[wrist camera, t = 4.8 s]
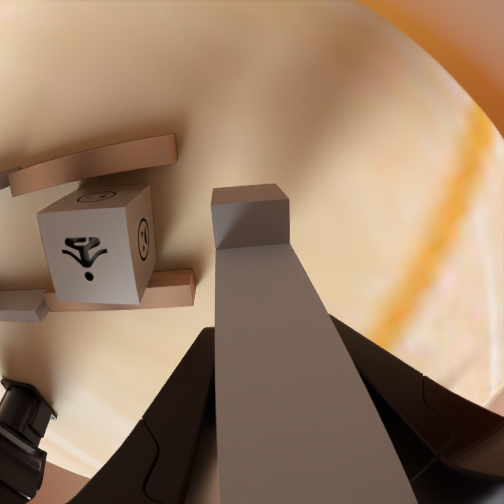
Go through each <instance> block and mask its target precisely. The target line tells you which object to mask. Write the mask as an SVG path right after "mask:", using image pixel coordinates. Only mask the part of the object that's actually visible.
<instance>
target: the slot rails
mask: <svg viewBox="0 0 504 504" xmlns="http://www.w3.org/2000/svg"><path fill="white" fill-rule="evenodd" d="M177 159H178V158H177V148H176V138H175V134H171V135H164V136H157V137H151V138H145V139H139V140H134V141H129V142H123V143H118V144H113V145H109V146H104V147H100V148H95V149H91V150H87V151H83V152H79V153H75V154H71V155H68V156H64V157H60V158H57V159H53V160H50V161H47V162H43V163H40V164H37V165H34V166H31V167H28V168H25V169H22V170H19V171H16V172H14V173H11V174H8V177H9V183H10V188H11V193H12V197H15V196H18V195H22V194H25V193H29V192H33V191H36V190H40V189H44V188H48V187H52V186H56V185H60V184H64V183H68V182H73V181H77V180H82V179H86V178H91V177H96V176H101V175H106V174H112V173H117V172H123V171H128V170H134V169H141V168H147V167H154V166H161V165H168V164H172V163H174V162H175V161H176V160H177ZM195 290H196V287H195V281H194V276H193V270H192V269H184V270H173V271H161V272H152V274H151V277H150V279H149V282H148V284H147V287H146V289H145V292H144V295H143V297H142V300H141V302H140V305H137V304H106V303H84V302H67V301H59V300H58V297H57V294H56V291H55V288H54V284H53V282H52V283H51V284H50V285H49V286H48V287H47V289H46V290H45V291H44V292H43V294H42V295H43V297H44V299H45V302H46V304H47V307H48V309H49V311H50V312H56V311H105V310H131V309H150V308H167V307H183V306H194V298H195Z"/></svg>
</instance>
